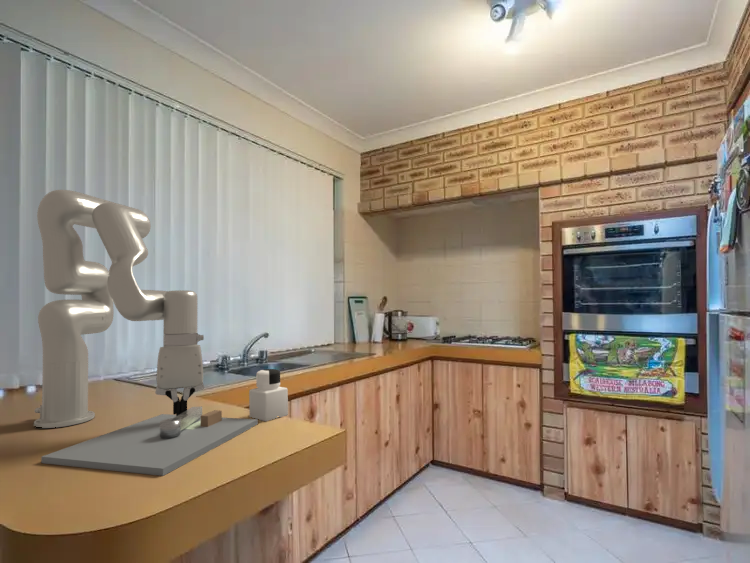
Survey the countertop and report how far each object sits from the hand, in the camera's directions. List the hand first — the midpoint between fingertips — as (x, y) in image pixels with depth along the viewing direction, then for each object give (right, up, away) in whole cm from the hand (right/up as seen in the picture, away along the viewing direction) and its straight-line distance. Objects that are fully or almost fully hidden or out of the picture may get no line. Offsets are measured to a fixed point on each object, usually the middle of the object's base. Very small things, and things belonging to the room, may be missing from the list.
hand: (180, 416), depth 99 cm
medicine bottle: (+20, -3, +7) cm, 21 cm away
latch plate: (+1, -2, -11) cm, 11 cm away
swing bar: (+3, -1, -5) cm, 6 cm away
